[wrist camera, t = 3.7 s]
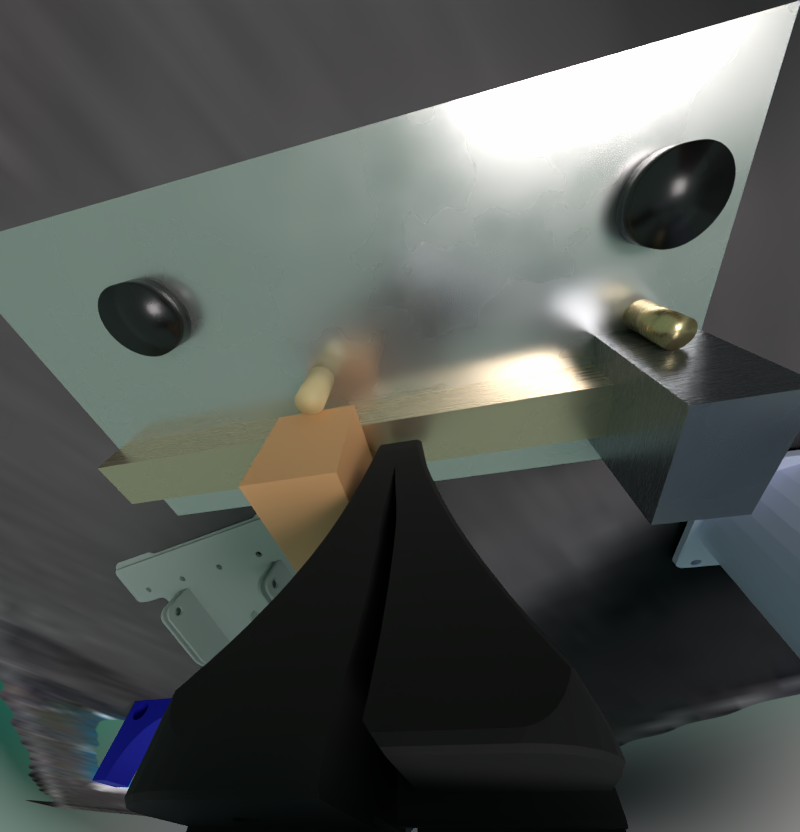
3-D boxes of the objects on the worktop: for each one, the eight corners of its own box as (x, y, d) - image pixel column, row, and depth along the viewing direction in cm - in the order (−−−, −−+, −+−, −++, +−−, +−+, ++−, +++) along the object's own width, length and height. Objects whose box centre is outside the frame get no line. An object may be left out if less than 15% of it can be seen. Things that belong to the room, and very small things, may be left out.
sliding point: (352, 359, 11) (323, 442, 7) (386, 467, 13) (377, 569, 10) (282, 373, 11) (219, 458, 7) (328, 476, 14) (299, 577, 10)
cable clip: (163, 712, 38) (126, 790, 33) (136, 698, 36) (92, 780, 30) (255, 706, 36) (230, 787, 31) (233, 691, 33) (202, 777, 28)
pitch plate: (749, 26, 8) (1267, -238, 3) (646, 432, 14) (761, 545, 9) (-14, 243, 11) (-338, 277, 6) (191, 497, 17) (111, 606, 12)
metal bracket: (408, 708, 18) (210, 736, 22) (418, 615, 24) (257, 651, 28) (277, 499, 15) (72, 575, 19) (324, 447, 20) (157, 515, 24)
